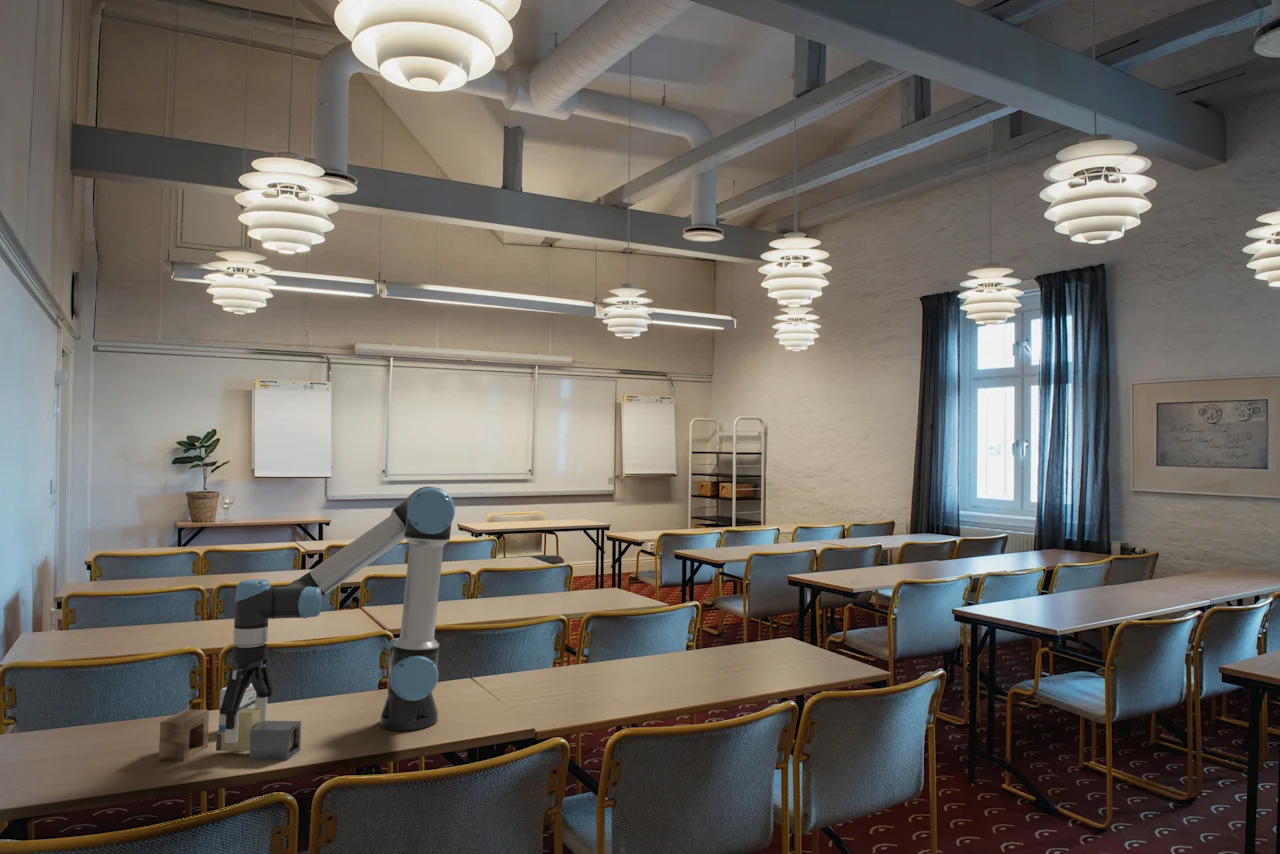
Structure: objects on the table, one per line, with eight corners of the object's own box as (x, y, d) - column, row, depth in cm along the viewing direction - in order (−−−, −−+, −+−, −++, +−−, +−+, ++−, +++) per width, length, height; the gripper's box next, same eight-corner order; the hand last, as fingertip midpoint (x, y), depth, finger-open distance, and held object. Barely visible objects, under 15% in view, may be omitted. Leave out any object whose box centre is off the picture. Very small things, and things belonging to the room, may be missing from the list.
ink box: (234, 737, 205) (235, 690, 206) (217, 735, 206) (218, 689, 207) (256, 726, 214) (257, 682, 214) (240, 725, 215) (241, 681, 215)
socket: (207, 746, 198) (209, 709, 199) (183, 761, 188) (185, 722, 189) (184, 746, 198) (185, 709, 199) (158, 760, 188) (160, 722, 189)
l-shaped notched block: (293, 745, 195) (294, 708, 195) (285, 751, 191) (287, 713, 191) (225, 744, 195) (226, 707, 196) (216, 750, 191) (217, 712, 192)
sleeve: (300, 750, 196) (301, 721, 196) (286, 760, 189) (287, 730, 189) (264, 749, 196) (265, 720, 197) (249, 759, 189) (250, 729, 190)
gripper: (260, 633, 207) (256, 716, 206) (206, 655, 182) (201, 750, 181) (289, 634, 207) (285, 717, 205) (238, 656, 182) (233, 750, 181)
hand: (246, 732), depth 193 cm, fingers open, 13 cm apart
